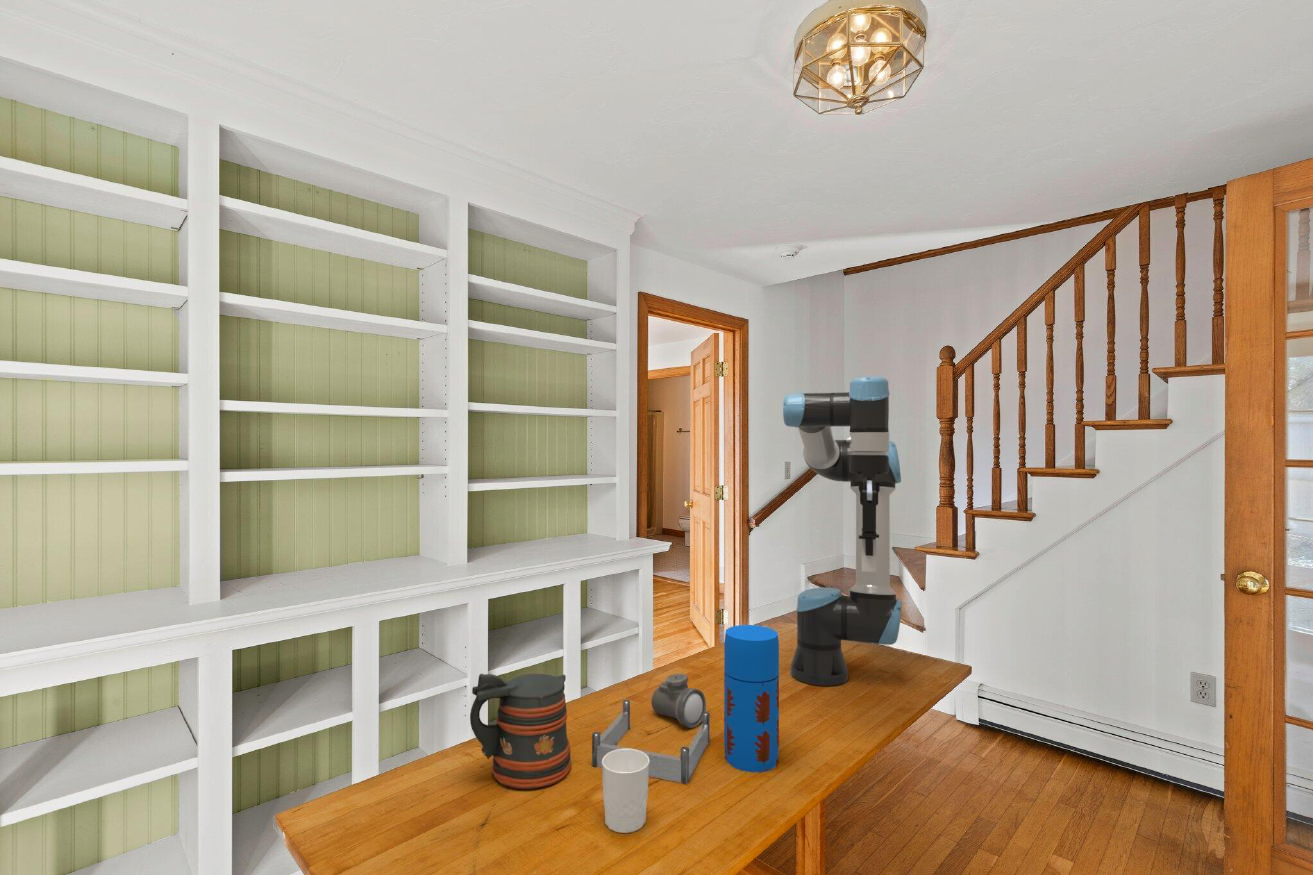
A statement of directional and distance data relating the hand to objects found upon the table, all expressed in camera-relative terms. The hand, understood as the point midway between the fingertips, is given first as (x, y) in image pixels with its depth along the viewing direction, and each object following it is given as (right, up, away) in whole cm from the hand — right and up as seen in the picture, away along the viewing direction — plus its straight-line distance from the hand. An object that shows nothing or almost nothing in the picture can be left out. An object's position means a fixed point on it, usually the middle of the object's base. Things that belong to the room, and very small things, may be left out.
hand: (868, 570), depth 122 cm
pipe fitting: (-38, -38, +16) cm, 56 cm away
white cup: (-48, -37, -22) cm, 64 cm away
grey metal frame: (-43, -37, +1) cm, 57 cm away
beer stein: (-68, -37, -7) cm, 78 cm away
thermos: (-24, -37, -1) cm, 44 cm away
